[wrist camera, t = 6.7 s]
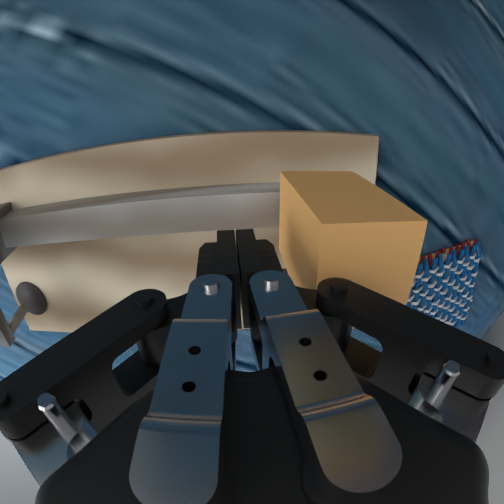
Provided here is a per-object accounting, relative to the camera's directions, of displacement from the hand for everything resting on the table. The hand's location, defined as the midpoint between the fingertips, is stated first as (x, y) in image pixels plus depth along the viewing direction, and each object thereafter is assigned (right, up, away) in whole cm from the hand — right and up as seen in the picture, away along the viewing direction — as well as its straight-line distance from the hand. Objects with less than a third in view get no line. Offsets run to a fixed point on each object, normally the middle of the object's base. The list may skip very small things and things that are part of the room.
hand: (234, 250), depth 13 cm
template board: (-5, +1, +7) cm, 9 cm away
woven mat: (+18, -4, +13) cm, 22 cm away
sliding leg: (+4, +1, +5) cm, 7 cm away
